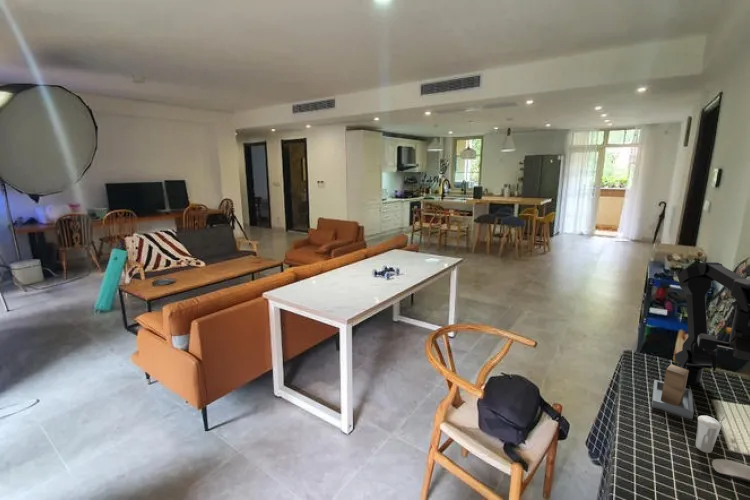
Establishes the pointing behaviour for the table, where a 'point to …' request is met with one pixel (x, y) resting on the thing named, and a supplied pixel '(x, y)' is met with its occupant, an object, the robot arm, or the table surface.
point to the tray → (682, 410)
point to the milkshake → (707, 433)
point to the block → (674, 385)
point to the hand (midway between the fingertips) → (735, 375)
